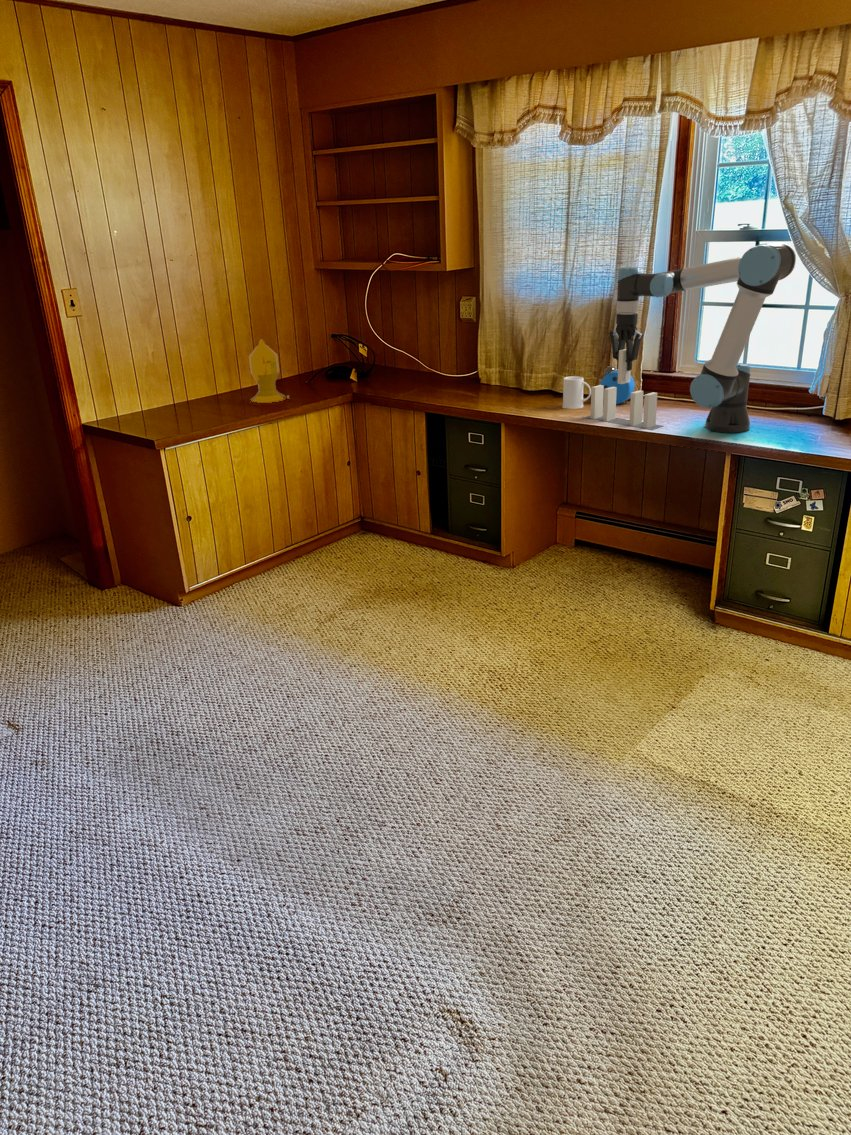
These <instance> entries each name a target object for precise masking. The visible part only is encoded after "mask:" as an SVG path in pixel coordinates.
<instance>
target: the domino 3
mask: <svg viewBox="0 0 851 1135" xmlns="http://www.w3.org/2000/svg"><path fill="white" fill-rule="evenodd" d="M625 361H626V348H625V349H623V350H619V363H618V369H617V370H618V384H624V383H628V382H630V379H627V380H624V364H625ZM630 374H631V375H632V370H630Z"/></svg>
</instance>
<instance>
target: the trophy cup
mask: <svg viewBox="0 0 851 1135" xmlns="http://www.w3.org/2000/svg"><path fill="white" fill-rule="evenodd" d="M248 359H249V360H248V361H249V368H250V374H251V376H252V377H253V379H254V380H255V382H256V383H257V387H258V391H257V392H256V394H255V395H254V396H253V397H251V398H250V399H249V400H251V401H252V402H257V403H272V402H279V401H283V400H285V399H286V398H287V399H289V400H290V395H289V394H288V395H285V394H283V393H281V392H280V391H278V389H277V386H276V381H277V379H278V376H279V374H280V365H279V364H280V363H279V356H278V353H277V352H275V351H274V350H273V349H272V348H271V347H270V346H269V345H267V344H266V342H265V340H264V339H262V338H261V339H259V341H258V345H257V346H255V347H254V349H253V351H252V352H251V353H250V354H249V356H248ZM251 401H250V402H251Z"/></svg>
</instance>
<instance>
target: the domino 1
mask: <svg viewBox="0 0 851 1135" xmlns="http://www.w3.org/2000/svg"><path fill="white" fill-rule="evenodd" d="M590 388H591V395H590V415H591V418H592V419H596V418H599V417H603V410H604V398H603V394H604V385H600V384H598V385H596V386H590Z"/></svg>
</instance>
